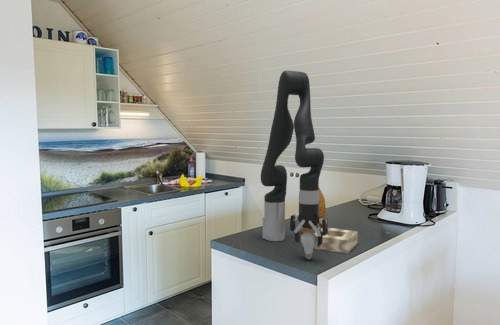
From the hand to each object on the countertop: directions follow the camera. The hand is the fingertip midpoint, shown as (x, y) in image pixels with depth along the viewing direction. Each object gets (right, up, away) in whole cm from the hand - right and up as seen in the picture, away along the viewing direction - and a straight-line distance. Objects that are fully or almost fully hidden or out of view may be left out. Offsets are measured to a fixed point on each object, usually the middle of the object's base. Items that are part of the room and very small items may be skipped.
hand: (308, 243), depth 138 cm
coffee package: (+8, -3, +37) cm, 38 cm away
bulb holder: (+14, -5, +17) cm, 22 cm away
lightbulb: (0, -6, +1) cm, 6 cm away
